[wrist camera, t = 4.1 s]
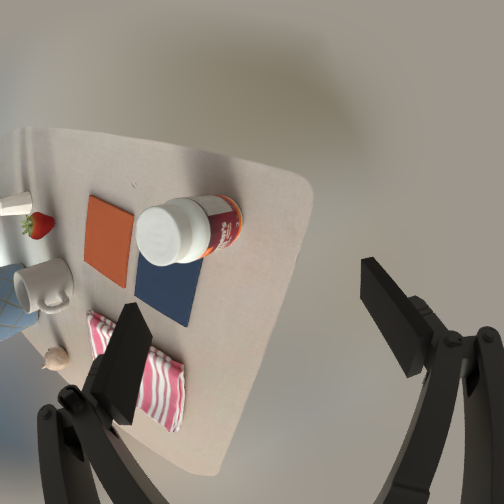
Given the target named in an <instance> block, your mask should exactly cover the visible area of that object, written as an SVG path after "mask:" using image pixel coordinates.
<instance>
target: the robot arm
mask: <svg viewBox="0 0 504 504" xmlns="http://www.w3.org/2000/svg"><path fill="white" fill-rule="evenodd" d="M360 299H361V300H362V302H363V303H364V305H365V307H366V308H367V310H368V311H369V313H370V315H371V316H372V318H373V320H374V321H375V323H376V325H377V326H378V328H379V330H380V331H381V333H382V335H383V336H384V338H385V340H386V341H387V343H388V345H389V347H390V348H391V350H392V352H393V353H394V355H395V357H396V359H397V361H398V362H399V364H400V366H401V368H402V369H403V371H404V373H405V375H406V377H407V378H409V377H412V376H414V375H417V374H419V373H421V371H422V368H423V365H424V366H425V368H426V370H427V373H426V375H425V378H424V381H423V387H422V390H421V393H420V396H419V400H418V403H417V406H416V409H415V412H414V415H413V418H412V420H411V423H410V426H409V429H408V431H407V434H406V437H405V439H404V442H403V444H402V447H401V449H400V451H399V454H398V456H397V458H396V461H395V463H394V465H393V467H392V470H391V471H390V474H389V476H388V478H387V480H386V482H385V484H384V486H383V488H382V490H381V492H380V493H379V495H378V497H377V499H376V500H375V502H374V503H373V504H427V502H428V499H429V495H430V492H429V488H430V485H431V482H432V480H433V477H434V474H435V472H436V469H437V466H438V463H439V460H440V457H441V454H442V451H443V448H444V445H445V441H446V438H447V434H448V431H449V427H450V423H451V419H452V415H453V411H454V406H455V401H456V397H457V391H458V386H459V380H460V378H462V384H463V395H464V413H465V459H464V475H463V486H462V495H461V503H460V504H504V348H503V345H502V341H501V337H500V335H499V333H498V331H497V330H496V329H494V328H492V327H488V326H486V327H482V328H480V329H479V331H478V333H477V335H476V336H468V337H462V335H461V334H459V333H458V332H455V331H450V330H448V329H447V328H446V327H445V326H444V324H443V323H442V322H441V321H440V319H439V318H438V317H437V316H436V314H435V313H433V311H432V310H431V308H429V306H428V305H427V304H426V302H425V301H424V300H423V299H421V298H419V297H417V296H412V297H409V298H407V296H406V295H405V294H404V293H403V291H402V290H401V289H400V288H399V287H398V285H397V284H396V283H395V282H394V281H393V280H392V278H391V277H390V276H389V275H388V274H387V273H386V271H385V270H384V269H383V268H382V266H381V265H380V264H379V263H378V262H377V261H376V260H375V258H374V257H370V258H365V259H361V288H360ZM152 338H153V336H152V334H151V332H150V330H149V328H148V326H147V324H146V322H145V320H144V318H143V316H142V314H141V312H140V310H139V308H138V305H137V303H136V302H135V303H129V304H125V305H124V308H123V310H122V312H121V314H120V317H119V319H118V321H117V323H116V326H115V328H114V330H113V333H112V335H111V338H110V340H109V342H108V345H107V347H106V350H105V352H104V354H99V355H98V356H97V357H96V359H95V360H94V361H93V363H92V366H91V368H90V369H91V370H90V371H89V373H88V376H87V378H86V381H85V384H84V386H83V389H82V391H80V389H79V388H78V387H77V386H76V385H68V386H66V387H64V388H63V389H62V390H61V391H60V392H59V394H58V402H59V403H60V404H61V405H62V406H63V407H64V408H62V409H58V410H57V409H56V408H55V407H54V406H53V405H51V404H47V405H44V406H43V407H42V408H41V409H40V410H39V412H38V415H37V433H38V451H39V463H40V473H41V480H42V488H43V493H44V500H45V504H100V500H99V497H98V494H97V490H96V487H95V483H94V479H93V475H92V471H91V467H90V463H91V465H92V467H93V469H94V471H95V472H96V474H97V476H98V478H99V480H100V482H101V483H102V485H103V487H104V489H105V490H106V492H107V494H108V495H109V497H110V499H111V500H112V502H113V503H114V504H169V503H168V502H167V500H166V499H165V498H164V497H163V496H162V494H161V493H160V492H159V491H158V489H157V488H156V487H155V486H154V484H153V483H152V482H151V481H150V479H149V478H148V477H147V475H146V474H145V473H144V471H143V470H142V469H141V467H140V466H139V464H138V463H137V461H136V460H135V459H134V457H133V456H132V454H131V453H130V451H129V450H128V448H127V447H126V445H125V444H124V442H123V441H122V439H121V437H120V436H119V434H118V433H117V431H116V429H115V428H114V427H113V426H112V421H113V419H114V420H115V421H116V422H117V423H118V424H119V425H132V422H133V417H134V412H135V408H136V403H137V399H138V394H139V390H140V385H141V381H142V377H143V373H144V369H145V365H146V361H147V357H148V353H149V349H150V345H151V342H152ZM89 461H90V463H89Z"/></svg>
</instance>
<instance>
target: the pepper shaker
mask: <svg viewBox="0 0 504 504" xmlns="http://www.w3.org/2000/svg"><path fill="white" fill-rule="evenodd" d="M31 210H32V198H31V195H30V193H29V192H28V191H27V192H24V193H20V194H16V195H13V196H9V197H6V198H2V199H0V216H4V215H18V214H29V213H30V212H31Z"/></svg>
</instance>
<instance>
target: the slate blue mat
mask: <svg viewBox="0 0 504 504" xmlns="http://www.w3.org/2000/svg"><path fill="white" fill-rule="evenodd" d="M202 260H203V257H202V258H200V259H197V260H195V261H192V262H189V263H177V262H176V263H172V264H170V265H166V266H157V265H154V264H152V263H150V262H149V261H148V260H147V259H146V258H145V257H144V256H143V255H142V253H141V251H140V253H139V260H138V268H137V276H136V285H135V294H134V296H136V297H137V298H139V299H140V300H142V301H143V302H145V303H147V304H148V305H150V306H151V307H153V308H154V309H156V310H158V311H159V312H161V313H162V314H164V315H166V316H167V317H169V318H171V319H172V320H174V321H176V322H177V323H179V324H181V325H182V326H184V327H187V326H188V322H189V317H190V313H191V308H192V304H193V299H194V295H195V290H196V286H197V282H198V277H199V273H200V269H201V264H202Z"/></svg>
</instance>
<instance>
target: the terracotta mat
mask: <svg viewBox="0 0 504 504" xmlns="http://www.w3.org/2000/svg"><path fill="white" fill-rule="evenodd" d="M133 220H134V215H132V214H130V213H128V212H126V211H124V210H122V209H120V208H118V207H115V206H113V205H111V204H109V203H107V202H105V201H103V200H101V199H99V198H97V197H95V196H93V195H89V203H88V212H87V222H86V234H85V249H84V261H85V262H87V263H88V264H89V265H91V266H92V267H93V268H95V269H96V270H98V271H99V272H100V273H102V274H103V275H105V276H106V277H108V278H109V279H110V280H112V281H113V282H115V283H116V284H118V285H119V286H121V287H122V288H125V285H126V275H127V265H128V257H129V248H130V241H131V234H132V227H133Z"/></svg>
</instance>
